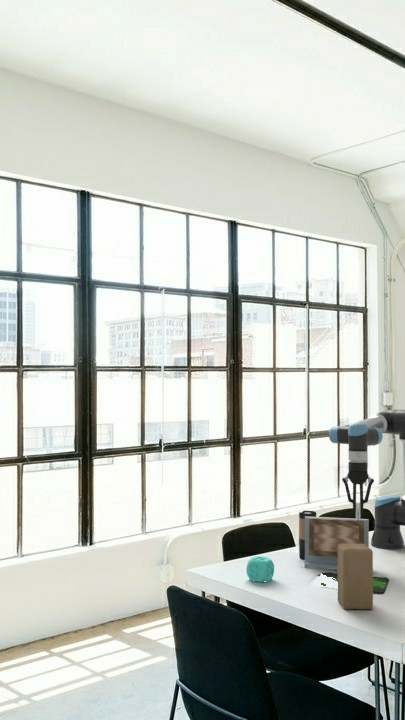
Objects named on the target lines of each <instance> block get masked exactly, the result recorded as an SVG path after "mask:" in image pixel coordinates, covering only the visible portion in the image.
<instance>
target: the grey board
mask: <svg viewBox="0 0 405 720" xmlns="http://www.w3.org/2000/svg"><path fill="white" fill-rule="evenodd" d="M309 518H325V519H346V520H356V518H349V517H346V518H345V517H328V516H325V517H324V516H316V517H306V516H305V560H304V565H303V566H304V568H309V569H325V570H326V569H329V570H338V557H325V556H309ZM360 520H364V544H365V545H366V546H368V547H369V546H370V544H369V543H370V542H369V541H370V539H369V538H370V536H369V535H370V531H369V530H370V529H369V528H370V527H369V525H370V524H369V523H370V522H369V521H370V520H369V518H360ZM369 548H370V547H369Z"/></svg>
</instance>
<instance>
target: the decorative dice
mask: <svg viewBox="0 0 405 720" xmlns="http://www.w3.org/2000/svg"><path fill="white" fill-rule="evenodd" d="M274 574H275V564H274V562H273V560H272V559H271V558H269V557H267V556H253V557H251V558H249V560H248V562H247V564H246V575H247V577H248V579H249V580H250V581H251V580H254V581H258V582H257V583H260V582H263V583H265V582H264V581H269V580H270V581H271V580H272V579H273V578H274ZM270 581H269V582H270Z"/></svg>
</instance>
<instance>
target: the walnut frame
mask: <svg viewBox="0 0 405 720" xmlns="http://www.w3.org/2000/svg"><path fill="white" fill-rule="evenodd" d="M339 544H364V520H360V521H359V520H346V519H325V518H309V556H325V557H338V545H339Z"/></svg>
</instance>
